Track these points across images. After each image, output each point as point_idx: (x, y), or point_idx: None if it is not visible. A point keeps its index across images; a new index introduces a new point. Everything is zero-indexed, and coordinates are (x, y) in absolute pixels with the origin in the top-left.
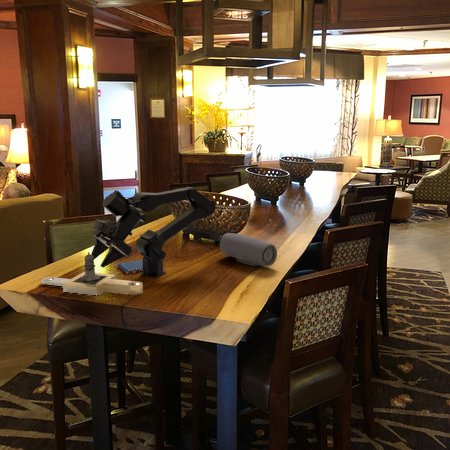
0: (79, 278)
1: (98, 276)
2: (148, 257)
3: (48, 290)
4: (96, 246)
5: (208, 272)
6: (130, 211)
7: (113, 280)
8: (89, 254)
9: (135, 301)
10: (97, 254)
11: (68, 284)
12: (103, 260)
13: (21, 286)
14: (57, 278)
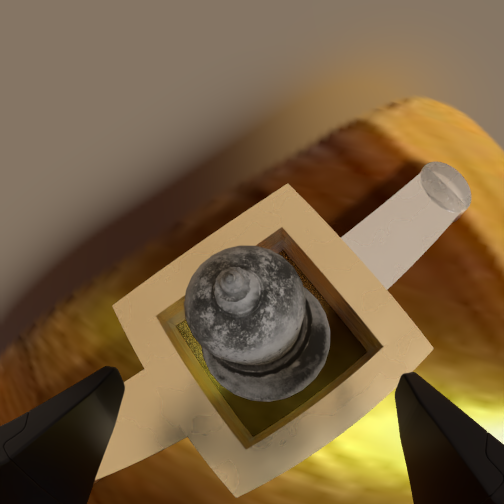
0: (333, 288)
1: (238, 386)
2: None
3: (352, 172)
4: (476, 489)
5: None
6: None
7: (144, 433)
8: (227, 297)
9: (23, 393)
10: (417, 467)
11: (258, 203)
12: (80, 395)
13: (432, 127)
14: (442, 220)
